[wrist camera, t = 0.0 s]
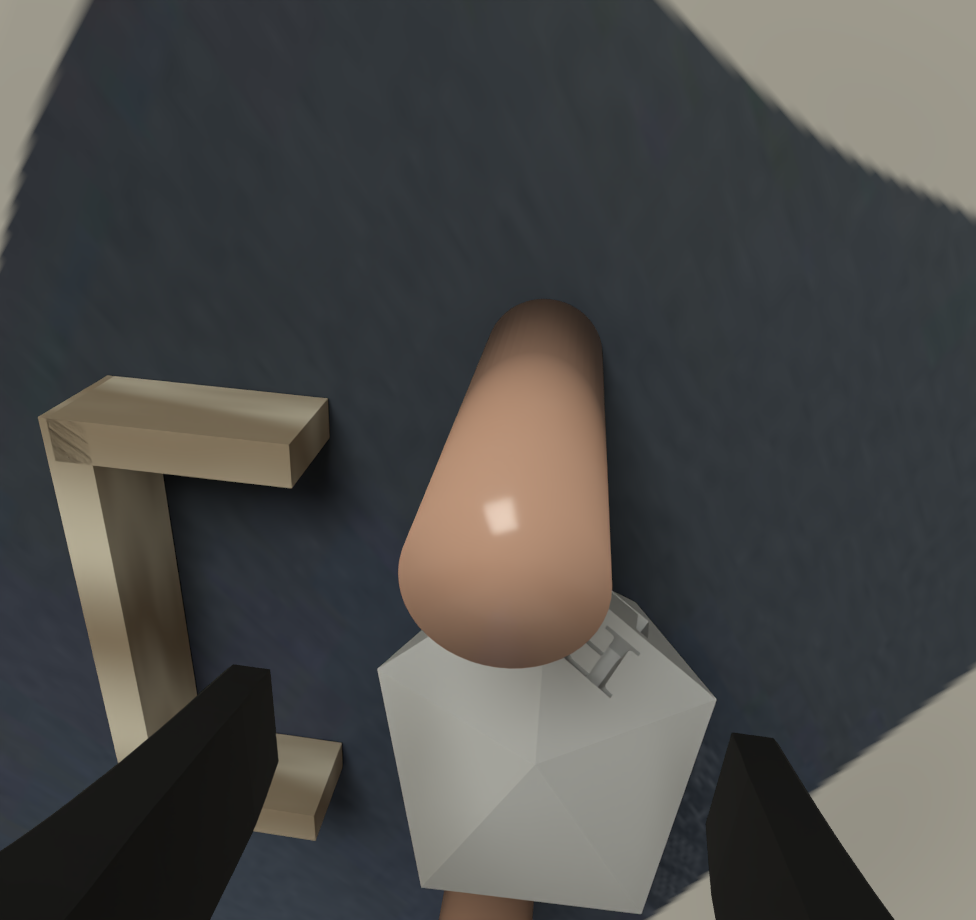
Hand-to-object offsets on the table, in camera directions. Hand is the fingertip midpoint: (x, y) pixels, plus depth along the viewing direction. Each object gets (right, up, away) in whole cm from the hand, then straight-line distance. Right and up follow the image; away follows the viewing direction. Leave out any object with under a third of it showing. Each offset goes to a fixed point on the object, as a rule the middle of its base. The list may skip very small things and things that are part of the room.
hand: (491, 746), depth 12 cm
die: (+2, -1, +12) cm, 12 cm away
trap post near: (+1, +7, +8) cm, 11 cm away
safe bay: (-8, 0, +12) cm, 15 cm away
